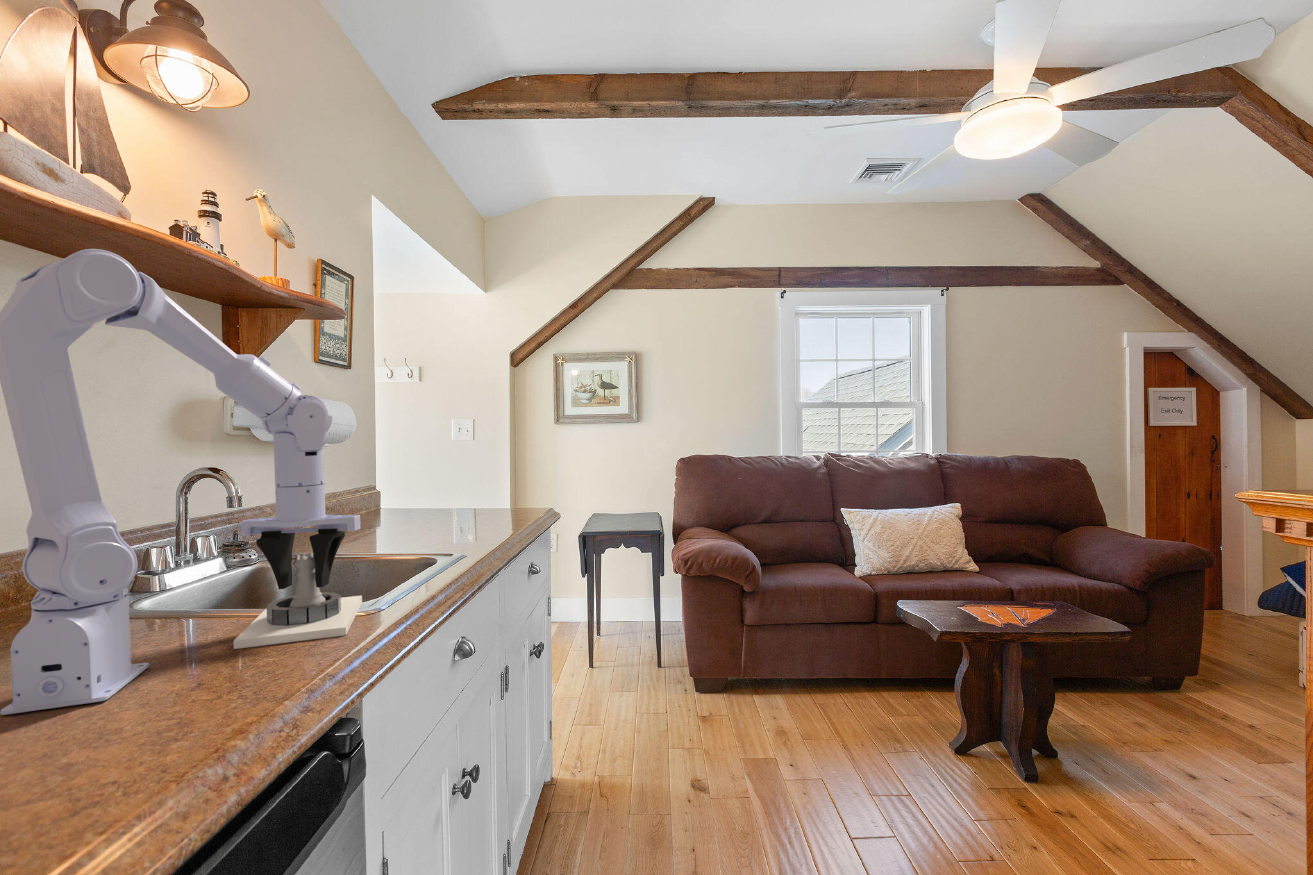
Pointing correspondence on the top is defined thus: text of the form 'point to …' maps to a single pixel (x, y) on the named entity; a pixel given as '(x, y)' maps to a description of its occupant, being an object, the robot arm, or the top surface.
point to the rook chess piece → (306, 582)
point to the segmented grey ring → (302, 610)
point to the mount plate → (299, 627)
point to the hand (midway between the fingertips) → (304, 586)
